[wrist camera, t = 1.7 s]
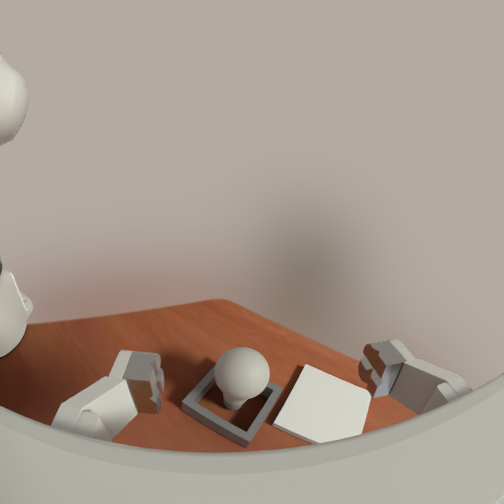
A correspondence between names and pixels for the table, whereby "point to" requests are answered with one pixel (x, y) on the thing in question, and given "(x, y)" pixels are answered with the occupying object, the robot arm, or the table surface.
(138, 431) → the table surface
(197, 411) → the frame
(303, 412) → the mat
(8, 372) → the table surface
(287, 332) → the table surface
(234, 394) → the lightbulb
